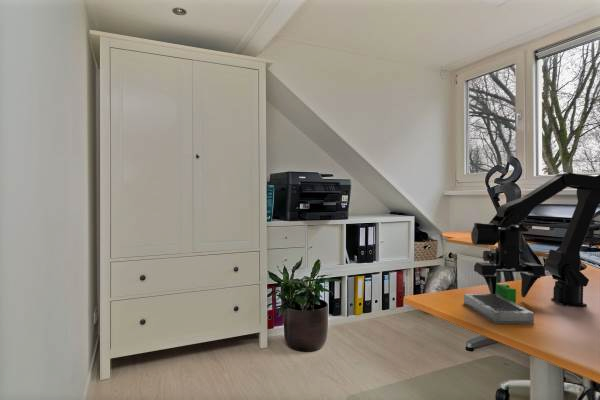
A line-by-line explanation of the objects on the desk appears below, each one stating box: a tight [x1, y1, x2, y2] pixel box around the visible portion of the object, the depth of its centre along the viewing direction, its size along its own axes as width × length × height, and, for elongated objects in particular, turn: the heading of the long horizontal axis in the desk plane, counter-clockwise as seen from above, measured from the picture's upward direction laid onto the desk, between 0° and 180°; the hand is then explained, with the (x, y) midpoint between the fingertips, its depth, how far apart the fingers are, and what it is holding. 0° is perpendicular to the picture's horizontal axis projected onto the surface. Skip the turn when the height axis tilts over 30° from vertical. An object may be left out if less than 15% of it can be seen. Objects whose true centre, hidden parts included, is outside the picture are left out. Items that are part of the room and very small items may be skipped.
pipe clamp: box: [495, 282, 517, 304], centre depth 112 cm, size 11×4×5 cm, turn 173°
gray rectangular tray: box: [463, 293, 535, 325], centre depth 101 cm, size 10×17×3 cm, turn 0°
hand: (508, 296), depth 112 cm, fingers open, 9 cm apart
